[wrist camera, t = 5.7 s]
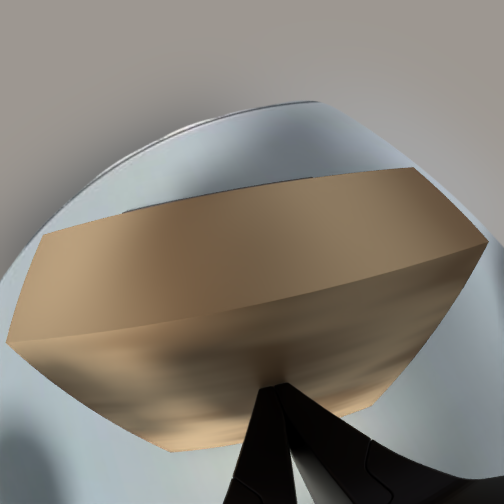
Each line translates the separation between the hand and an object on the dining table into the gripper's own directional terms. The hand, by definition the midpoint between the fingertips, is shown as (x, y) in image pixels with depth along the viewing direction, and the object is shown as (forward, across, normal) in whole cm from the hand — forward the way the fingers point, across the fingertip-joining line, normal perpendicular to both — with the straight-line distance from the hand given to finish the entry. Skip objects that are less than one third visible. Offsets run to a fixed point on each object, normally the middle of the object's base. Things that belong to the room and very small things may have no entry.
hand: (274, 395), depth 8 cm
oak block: (+5, 0, +6) cm, 8 cm away
